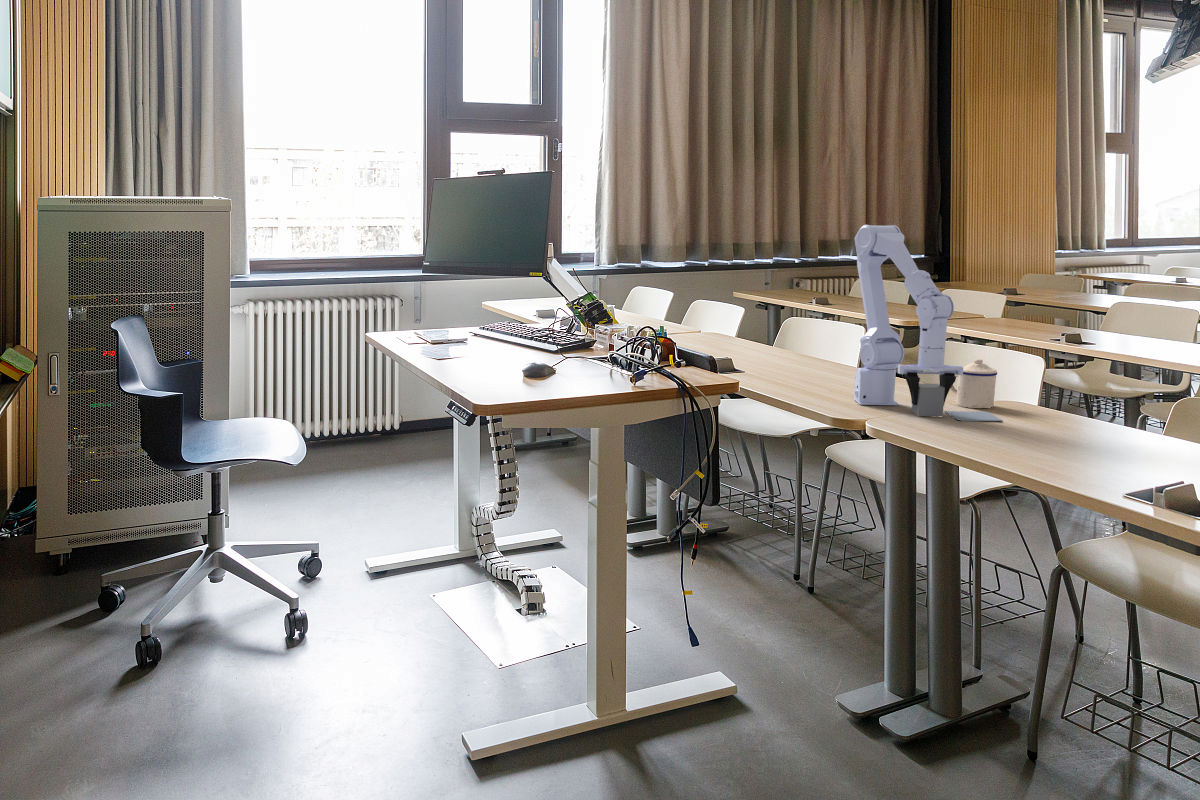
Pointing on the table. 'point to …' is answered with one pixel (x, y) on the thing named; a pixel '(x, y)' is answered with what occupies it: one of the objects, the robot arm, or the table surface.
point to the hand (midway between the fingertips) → (927, 404)
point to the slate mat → (973, 416)
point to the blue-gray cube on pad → (929, 400)
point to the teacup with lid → (976, 386)
